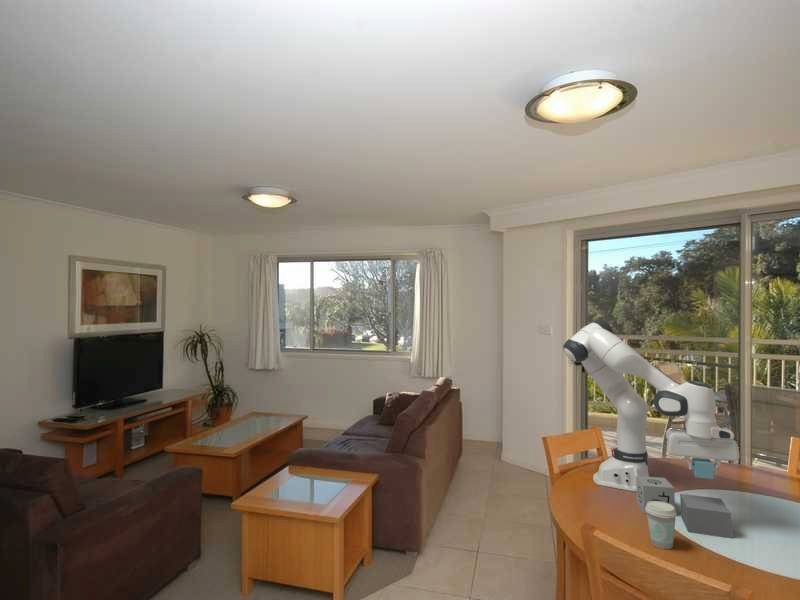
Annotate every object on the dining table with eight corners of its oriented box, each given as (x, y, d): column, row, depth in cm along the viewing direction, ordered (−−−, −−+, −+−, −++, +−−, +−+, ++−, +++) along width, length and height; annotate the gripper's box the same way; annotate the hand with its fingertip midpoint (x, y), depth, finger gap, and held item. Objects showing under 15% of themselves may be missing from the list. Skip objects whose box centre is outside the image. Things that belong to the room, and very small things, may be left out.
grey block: (688, 532, 146) (686, 507, 146) (681, 516, 157) (680, 493, 158) (732, 538, 142) (730, 512, 142) (721, 522, 153) (720, 498, 153)
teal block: (696, 477, 149) (695, 462, 149) (692, 472, 153) (692, 457, 153) (713, 479, 147) (713, 463, 147) (709, 474, 151) (709, 459, 151)
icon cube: (675, 516, 158) (674, 487, 158) (644, 513, 160) (643, 485, 160) (666, 504, 167) (665, 477, 168) (636, 502, 170) (635, 476, 170)
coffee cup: (640, 538, 143) (639, 500, 143) (665, 537, 143) (664, 499, 144) (658, 552, 134) (656, 512, 135) (684, 550, 135) (683, 510, 135)
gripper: (667, 429, 152) (668, 470, 151) (740, 434, 144) (742, 477, 143) (664, 425, 158) (665, 464, 157) (734, 429, 150) (736, 471, 149)
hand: (702, 470), depth 150 cm, fingers closed on teal block, 5 cm apart
